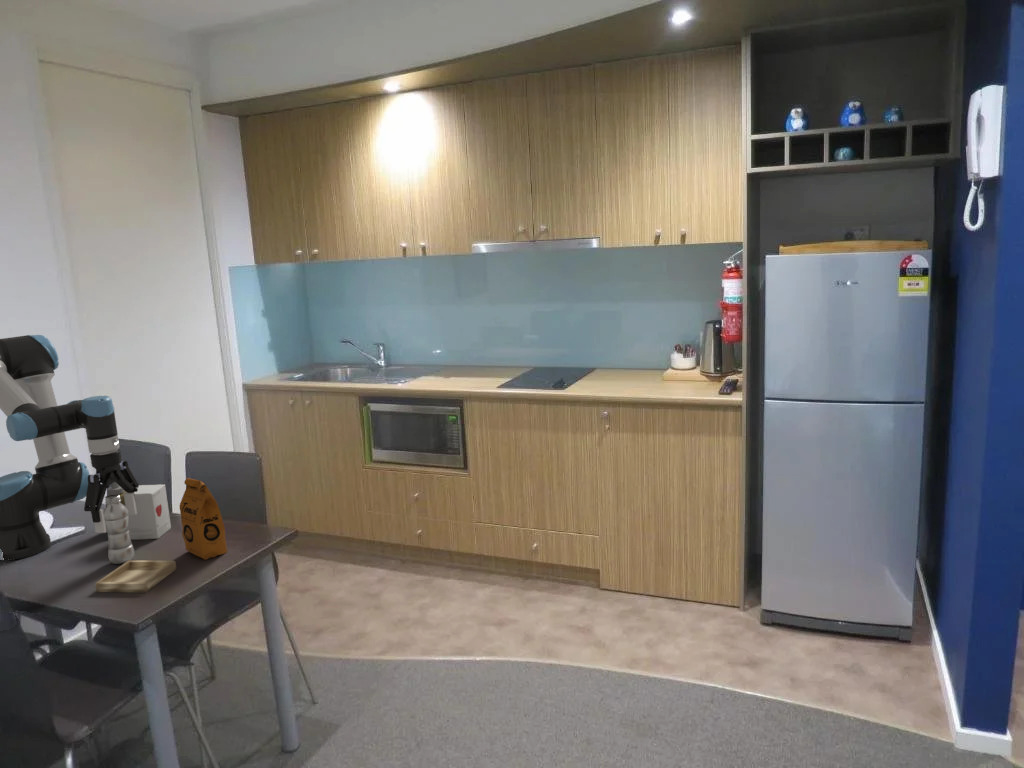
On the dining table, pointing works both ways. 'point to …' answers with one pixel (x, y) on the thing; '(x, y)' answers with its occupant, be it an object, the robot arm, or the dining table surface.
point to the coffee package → (201, 521)
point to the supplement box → (150, 513)
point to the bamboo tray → (136, 576)
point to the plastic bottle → (117, 530)
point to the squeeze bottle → (117, 492)
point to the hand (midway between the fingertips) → (117, 523)
